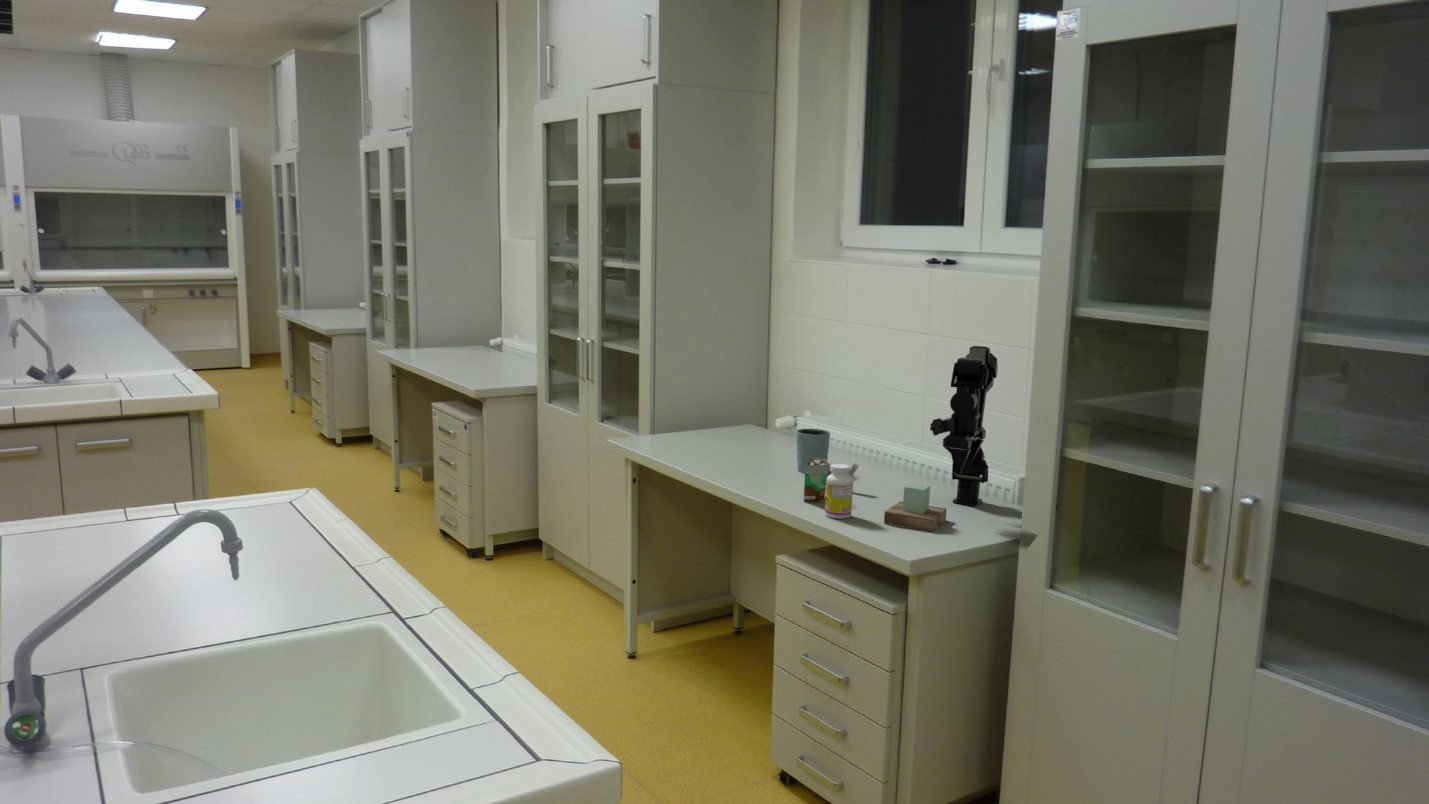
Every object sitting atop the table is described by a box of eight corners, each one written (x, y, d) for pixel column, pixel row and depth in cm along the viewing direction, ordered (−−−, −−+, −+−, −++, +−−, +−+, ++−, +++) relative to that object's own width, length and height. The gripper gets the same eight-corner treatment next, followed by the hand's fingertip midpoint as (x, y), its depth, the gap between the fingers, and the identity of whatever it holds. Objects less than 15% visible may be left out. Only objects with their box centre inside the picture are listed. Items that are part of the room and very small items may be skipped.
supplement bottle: (827, 511, 257) (829, 461, 255) (853, 514, 255) (856, 464, 253) (822, 517, 251) (825, 467, 249) (848, 520, 249) (851, 469, 247)
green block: (909, 506, 253) (910, 482, 252) (928, 509, 250) (930, 485, 249) (902, 510, 248) (904, 486, 247) (922, 513, 246) (924, 489, 245)
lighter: (830, 490, 279) (832, 461, 278) (832, 488, 280) (833, 460, 279) (856, 493, 276) (857, 464, 275) (857, 491, 278) (859, 463, 277)
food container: (826, 505, 263) (828, 467, 261) (803, 503, 264) (804, 465, 262) (830, 493, 275) (832, 457, 273) (808, 492, 276) (810, 456, 274)
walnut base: (899, 512, 258) (900, 501, 257) (945, 520, 252) (946, 508, 252) (883, 523, 247) (884, 511, 247) (931, 531, 242) (932, 519, 241)
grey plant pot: (811, 476, 294) (813, 435, 292) (787, 469, 302) (788, 430, 300) (835, 471, 301) (837, 432, 299) (810, 465, 308) (812, 426, 306)
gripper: (945, 401, 263) (941, 459, 266) (924, 410, 247) (920, 473, 249) (988, 405, 258) (983, 465, 260) (969, 416, 242) (965, 479, 244)
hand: (962, 470), depth 254 cm, fingers open, 9 cm apart
